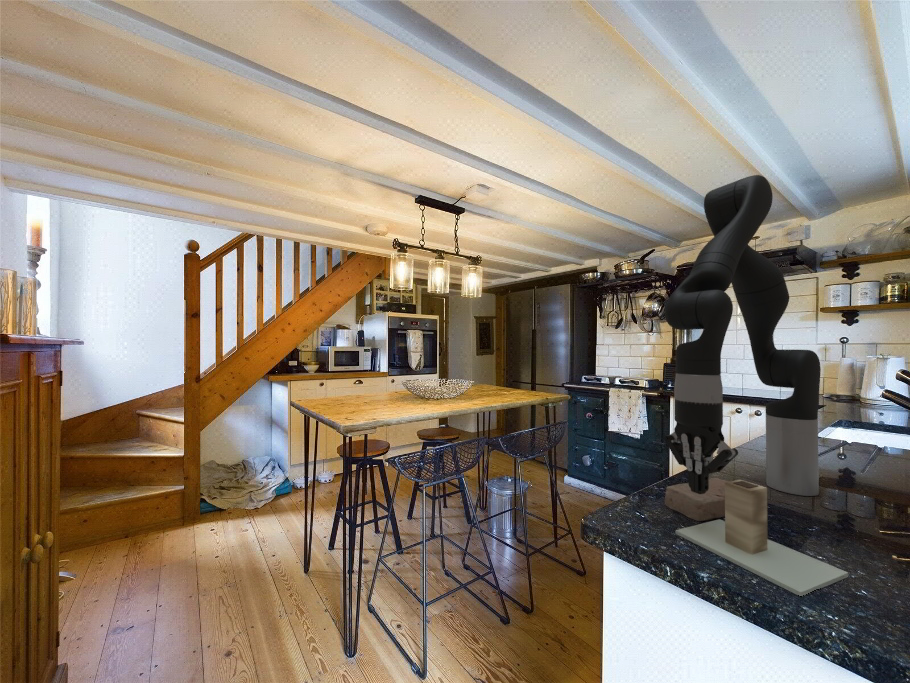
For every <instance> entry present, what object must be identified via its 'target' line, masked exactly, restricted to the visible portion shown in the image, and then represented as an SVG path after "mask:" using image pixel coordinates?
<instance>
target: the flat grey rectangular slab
mask: <svg viewBox="0 0 910 683" xmlns="http://www.w3.org/2000/svg"><path fill="white" fill-rule="evenodd" d="M675 535H677V536H679V537H681V538H683V539H685V540H687V541H688V542H691V543H693V544H695V545H697V546H699V547H701V548H703V549H705V550H706V551H708V552H709V551H710V552H711V553H713V554H714V555H717V556H719V557H721V558H723V559H725V560H727V561H729V562H731V563H733V564H735V565H736V566H739V567H741V568H742V569H744V570H747V571H748V572H751V573H753V574H755V575H757V576H759V577H760V578H762V579H765V580H767V581H769V582H770V583H772V584H774V585H776V586H779V587H780V588H782V589H785V590H786V591H789V592H790V593H793V594H795V595H796V596H798V595H799V597H800V596H802V597H804V596H807V595H808V593H809V594H811V593H810V592H812V591H814V590H816V589H819V590H820V588H821V589H823V588H826V587H827V586H830V585H833V584H835V583H837V582H840V581H842V580H845V579H846V578H849V572H848V571H845V570H843V569H840V568H839V567H838V568H837V567H836V566H833V565H831V564H828V563H826V562H824V561H822V560H819V559H817V558H814V557H812V556H809V555H807V554H804V553H802V552H799V551H797V550H794V549H793V548H791V547H788V546H785V545H783V544H780V543H778V542H775V541H773V540H772V539H768V538H767V549H768V550H766V551H763V552H759V553H756V554H753V555H751V554H749V553H747V552H745V551H743V550H740V549H738V548H736V547H734V546H732V545H730V544H728V543H725V520H722V519H719V518H717V519H716V520H711V521H707V522H703V523H700V524H696V525H691V526H687V527H684V528H680V529H676V530H675ZM816 591H817V590H816ZM814 592H815V591H814ZM812 593H813V592H812ZM806 594H807V595H806ZM803 595H804V596H803Z"/></svg>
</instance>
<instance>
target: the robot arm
mask: <svg viewBox="0 0 910 683" xmlns="http://www.w3.org/2000/svg"><path fill="white" fill-rule="evenodd" d="M773 199H774V197H773V190H772V187H771V184H770V182H769V180H768V179H767V178H766V177H765V176H764V175H761V174H754V175H749V176H746V177H743V178H741V179H737V180H736V181H733V182H730V183H727V184H724V185H721V186H720V187H716V188H714V189H712V190H710V191H708V192H707V193H706V195H705V196H704V199H703V209H704V214H705V218H706V220H707V223H708V226H709V227H710V230H711V232H712V234H713V235H712V236H713V237H712V238H711V239H710V240H709V241H708V242H707V243H706V244H705V245H704V246H703V247H702V249H701V250H700V252H699V253H698V254H697V257H696V258H695V260H694V264H693V266H692V268H691V271H690V273H689V275H687V277H685V278H684V280H682V281H681V283H680V284H679V285H678V287H677V288H676V289H675V290H674V291H673V292H672V293H671V294H670V296H669V297H668V300H667V301H666V304H665V307H664V318H665V321H666V323H667V324H668V325H669V326H670V327H671V328H673V329H675V330H680V331H681V330H682V331H688V330H703V331H702V332H701V334H700V335H699V337H698V338H697V339H696V340H692V341H688V342H682V343H680V344H678V345H677V346H676V348H675V379H674V387H673V388H674V389H673V390H674V391H673V392H674V396H673V397H674V407H673V408H674V411H673V412H674V415H673V416H674V421H675V422H676V424H675V427H674V429H673V430H674V431H673V432H671V433H670V434H668V435H667V434H666V435H664V436H663V440H664V442H665V444H666V445H667V447H668V449H669V450H670V452H671V454H672V455H673V458H675V460H676V461H677V464H678V465H679V466H684V467H685V468H686V470H687V472H688V478H687V479H688V483H689V487H690V488H691V491H692V492H695V493H697V494H704V493H706V491H708V489H709V479H710V478H709V476H710V474H714V473H715V474H716V473H720V472H721V471H722V470H723V469H724V468H725V467H727V465H729V463H730V462H732V461H733V460H734V459H735V458H736V457H737V456H738V454H739V450H738V449H736V448H733V447H732V448H731V447H730V446H729V444H728V443H726V441H725V436H724V434H723V431H722V428H723V424H724V408H723V407H724V403H723V401H724V393H723V390H724V389H723V383H722V375H721V374H722V368H721V367H722V364H721V363H722V360H721V358H722V356H721V355H722V349H723V345H724V341H725V338H726V335H727V331H728V328H729V325H730V323H731V320H732V315H733V313H734V305H733V301H732V299H731V297H730V296H729V294H728V293H726V292H727V290H728V289H729V288H730V286H732V289H733V293H734V296H735V298H736V299H735V300H736V302H737V304H738V307H739V310H740V312H741V316H742V317H743V322H744V325H745V328H746V331H747V334H748V339H749V343H750V347H751V352H752V354H751V355H752V358H753V363H754V367H755V371H756V374H757V376H758V378H759V380H760V382H761V383H762V384H764V385H765V386H768V387H776V388H786V389H793V391H792V395H791V396H789V397H786V398H784V399H781V400H780V399H779V400H774V401H769V402H767V403H766V404H765V463H766V464H765V465H766V466H765V471H766V472H765V473H766V474H765V476H766V477H765V480H766V483H765V484H766V486H767V487H769V488H770V489H774V490H777V491H780V492H783V493H788V494H791V495H797V496H805V497H809V496H810V497H815V496H816V497H817V496H818V495H819V494H820V490H819V487H820V486H819V485H820V484H819V483H820V482H819V471H820V470H819V422H818V421H819V420H818V419H819V418H818V417H819V405H820V387H821V384H820V383H821V361H820V358H819V356H818V354H817V353H816V352H815V351H813V350H811V349H777V348H776V346H775V342H774V332H775V330H776V327H777V325H778V324H779V321H780V320H781V318H782V317H783V315H784V314H785V312H786V311H787V310H786V309H787V307H788V305H789V304H790V303H789V302H790V294H789V290H788V287H787V282H786V280H785V276H784V274H783V271H782V270H781V268H780V267H779V266H778V265H777V264H775V263H774V262H773V261H772V260H770V259H769V258H767V257H766V256H765V255H763V254H761V252H758V251H757V250H756V249H755V248H753V247H752V246H750V245H749V243H750V242H751V241H752V239H753V238H754V236H755V235H756V233H757V231H758V230H759V228H760V227H761V225H762V224H763V222H764V220H765V219H766V218H767V216H768V214H769V213H770V211H771V207H772V205H773ZM715 452H716V456H715V457H714V453H715Z"/></svg>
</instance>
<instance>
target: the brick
mask: <svg viewBox="0 0 910 683" xmlns="http://www.w3.org/2000/svg"><path fill="white" fill-rule="evenodd" d="M725 482H730V481H729V480H726V479H720V478H719V477H711V478H709V489H708V491H706V493H704V494H697V493H695V492H692V491H691V488H690V487H689V482H687V483H678V484H677V483H676V484H673V485H668V486H666V490H665V494H664V495H665V497H664V504H665V507H667V508H669V509H671V510H674V511H675V512H678V513H680V514H682V515H684V516H686V517H687V518H689V519H691V520H694V521H697V522H703V521H710V520H713V519H719V518H723V517H725Z"/></svg>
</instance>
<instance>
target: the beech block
mask: <svg viewBox="0 0 910 683" xmlns="http://www.w3.org/2000/svg"><path fill="white" fill-rule="evenodd" d="M724 519H725V520H724V521H725V543H728V544H730V545H732V546H734V547H736V548H738V549H740V550H743V551H745V552H747V553H749V554H751V555H753V554H756V553H759V552H763V551H766V550H768V549H767V539H768V488H767V487H766V486H762V485H759V484H757V483H753V482H749V481H746V480H742V479H735V480H732V481H729V482H725V516H724Z"/></svg>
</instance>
